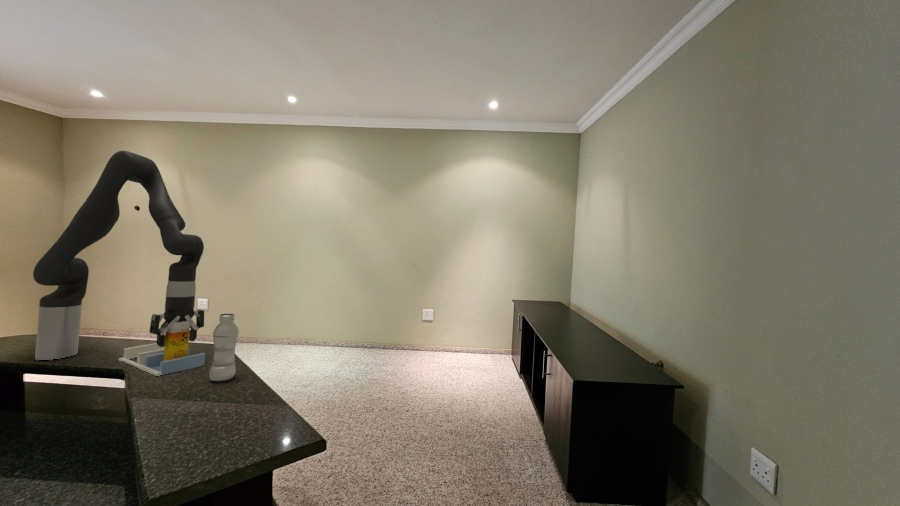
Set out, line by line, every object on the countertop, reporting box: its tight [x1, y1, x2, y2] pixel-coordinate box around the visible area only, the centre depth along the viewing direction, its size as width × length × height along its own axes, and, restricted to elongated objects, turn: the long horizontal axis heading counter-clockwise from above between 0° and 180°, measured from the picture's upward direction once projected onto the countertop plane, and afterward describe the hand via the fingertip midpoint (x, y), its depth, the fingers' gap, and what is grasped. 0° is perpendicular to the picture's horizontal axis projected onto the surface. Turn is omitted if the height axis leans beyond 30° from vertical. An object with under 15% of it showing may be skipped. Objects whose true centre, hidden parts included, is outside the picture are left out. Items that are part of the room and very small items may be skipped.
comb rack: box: [118, 342, 206, 377], centre depth 111 cm, size 24×13×4 cm, turn 65°
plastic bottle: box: [208, 312, 240, 382], centre depth 101 cm, size 6×7×20 cm
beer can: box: [163, 321, 191, 361], centre depth 109 cm, size 6×6×15 cm
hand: (176, 343), depth 109 cm, fingers open, 8 cm apart
